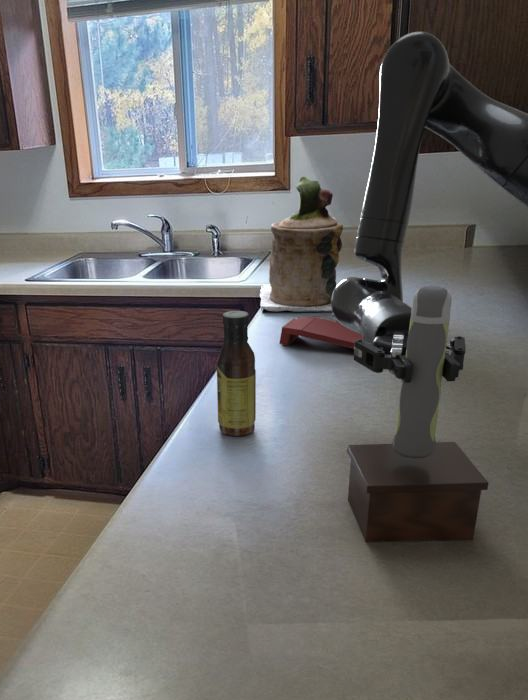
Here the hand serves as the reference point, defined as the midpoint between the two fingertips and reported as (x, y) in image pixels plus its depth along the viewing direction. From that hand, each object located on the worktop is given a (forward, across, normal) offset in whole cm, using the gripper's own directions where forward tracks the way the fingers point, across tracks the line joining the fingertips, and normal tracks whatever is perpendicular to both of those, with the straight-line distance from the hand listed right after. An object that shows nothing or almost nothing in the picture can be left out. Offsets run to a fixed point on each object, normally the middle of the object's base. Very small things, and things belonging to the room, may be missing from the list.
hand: (430, 373), depth 83 cm
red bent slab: (-81, +6, +21) cm, 84 cm away
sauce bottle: (-33, -20, +21) cm, 44 cm away
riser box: (-2, 0, +20) cm, 20 cm away
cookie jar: (-124, +4, +22) cm, 126 cm away
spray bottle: (-3, 0, +11) cm, 12 cm away
